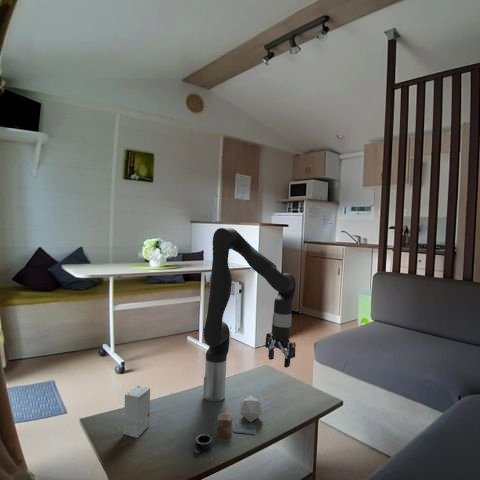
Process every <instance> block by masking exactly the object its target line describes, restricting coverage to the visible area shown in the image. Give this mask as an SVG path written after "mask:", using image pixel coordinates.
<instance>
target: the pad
mask: <svg viewBox="0 0 480 480" xmlns="http://www.w3.org/2000/svg"><path fill="white" fill-rule="evenodd" d="M233 429H234V430H233V433H234V434H235V433H236V434H242V433H247V434H246V435H252V434H255V435H256V434H257V433H256V430H257V426H256V425H250V424H240V423H239V424H238V423H235V424H234V428H233Z"/></svg>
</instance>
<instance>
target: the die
mask: <svg viewBox="0 0 480 480" xmlns="http://www.w3.org/2000/svg"><path fill="white" fill-rule="evenodd" d="M262 410H263V408H262V402H261V401H259V400H258V399H257V398H256V397H254V395H252V394H250V395H249V396H247V397H246V398H245V399H243V400H241V402H240V404H239V414H240V415H241V416H242V417H244V418H245V419H246V421H248V422H249V423H252V422H253V421H254V420H256V419H258V418H259V417H260V416H262V413H263V411H262Z"/></svg>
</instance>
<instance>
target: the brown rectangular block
mask: <svg viewBox="0 0 480 480" xmlns="http://www.w3.org/2000/svg"><path fill="white" fill-rule="evenodd" d="M216 419H217V421H216V422H217V423H216V436H220V437H231V436H232V431H233V414H231V413H218V416H217V418H216Z"/></svg>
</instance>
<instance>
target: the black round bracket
mask: <svg viewBox="0 0 480 480" xmlns="http://www.w3.org/2000/svg"><path fill="white" fill-rule="evenodd" d="M213 439H214V434H206V433H202V434H199V435H197V436H196V437H195V443H194V445H193V451H192V452H193V453H195V454H197V455H199V454H200V453H207V452H209V451H211V450H212V448H213Z"/></svg>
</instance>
